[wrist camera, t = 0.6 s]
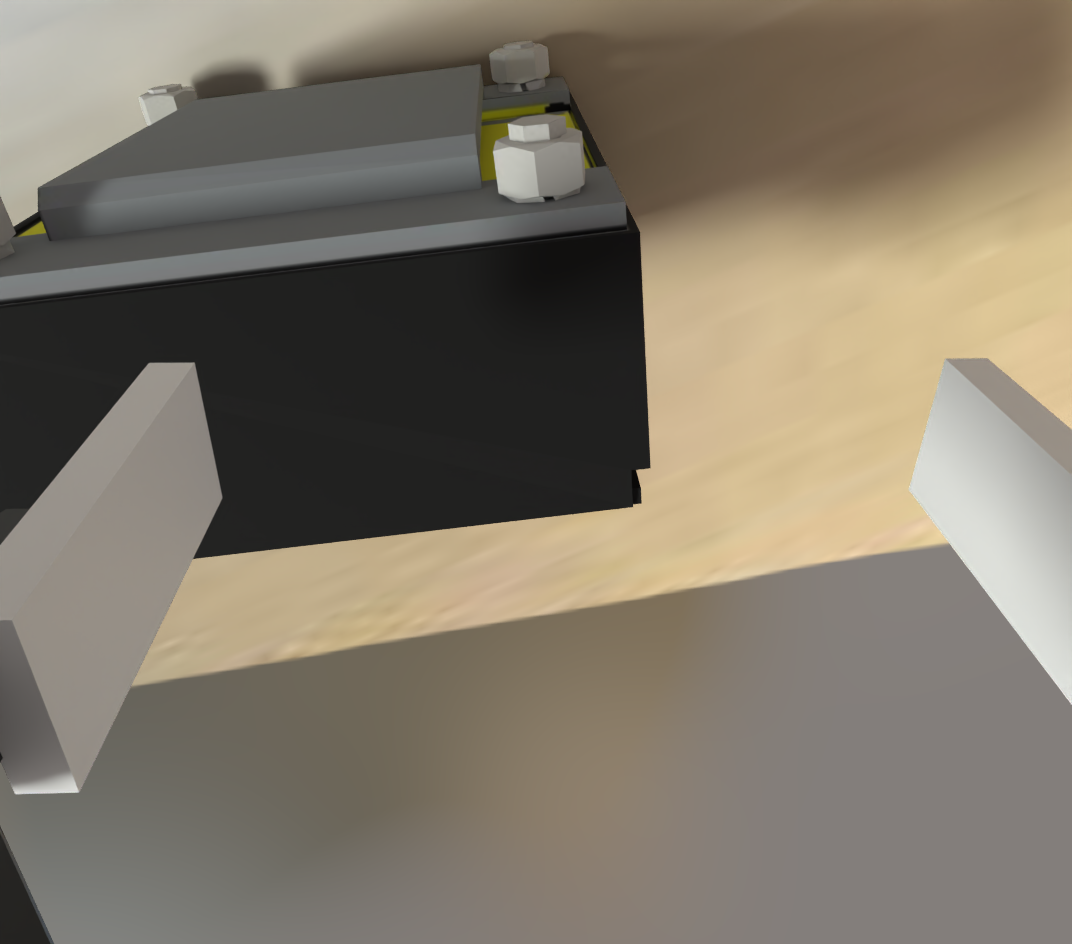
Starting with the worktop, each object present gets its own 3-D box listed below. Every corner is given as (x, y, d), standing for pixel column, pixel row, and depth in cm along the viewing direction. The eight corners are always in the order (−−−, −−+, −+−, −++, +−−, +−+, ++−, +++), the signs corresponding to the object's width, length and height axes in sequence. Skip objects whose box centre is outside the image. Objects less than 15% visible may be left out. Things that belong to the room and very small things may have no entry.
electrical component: (565, 31, 35) (636, 125, 18) (584, 277, 40) (654, 528, 23) (132, 85, 35) (-203, 228, 18) (209, 321, 41) (6, 601, 24)
